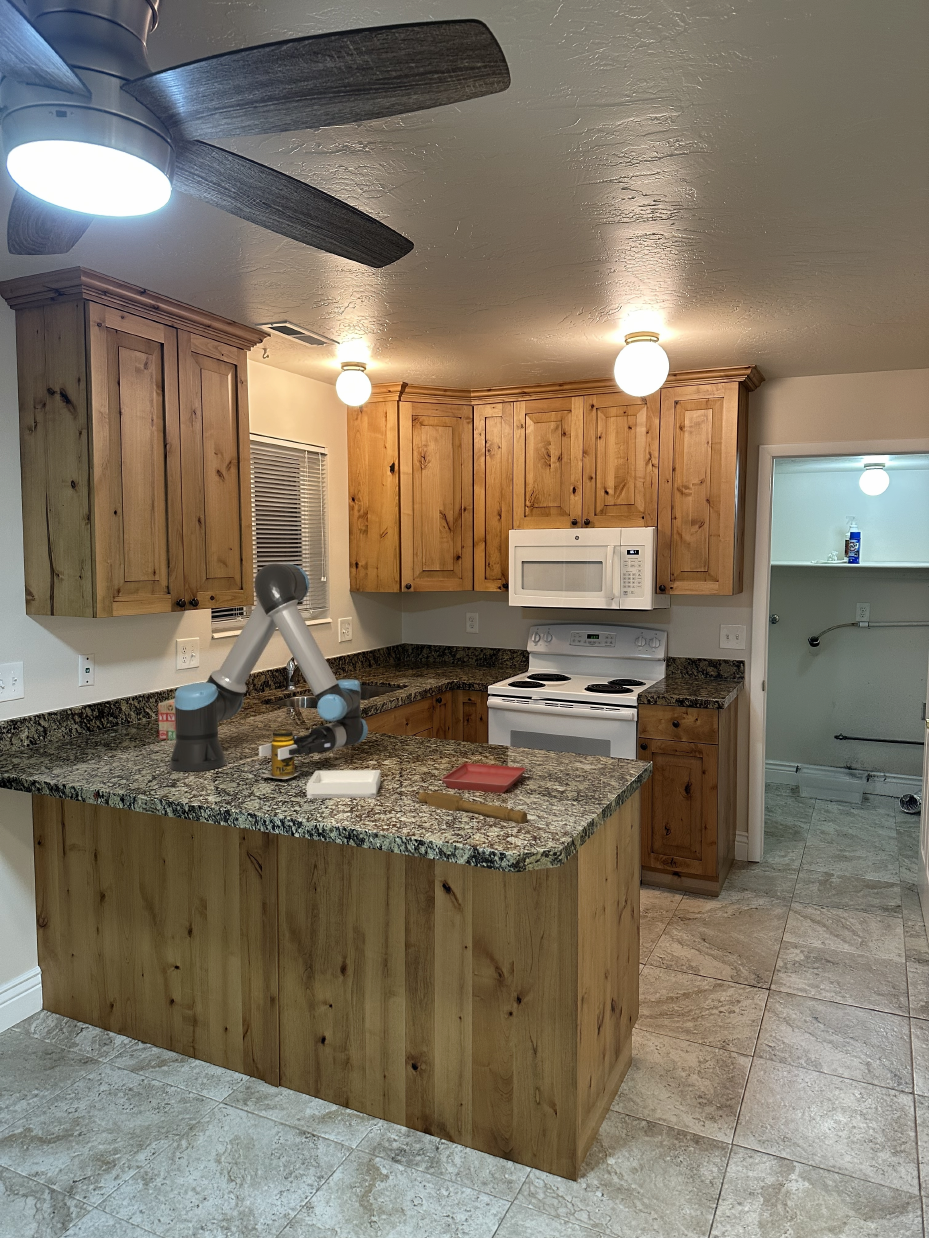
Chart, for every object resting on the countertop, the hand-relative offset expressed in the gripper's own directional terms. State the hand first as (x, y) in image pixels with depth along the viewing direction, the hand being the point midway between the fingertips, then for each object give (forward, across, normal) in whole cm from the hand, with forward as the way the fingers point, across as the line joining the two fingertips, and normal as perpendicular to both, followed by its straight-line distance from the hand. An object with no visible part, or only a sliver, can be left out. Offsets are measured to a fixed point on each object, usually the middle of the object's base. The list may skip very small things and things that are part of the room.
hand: (269, 752), depth 219 cm
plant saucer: (-28, -50, -8) cm, 57 cm away
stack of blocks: (-37, +77, -9) cm, 86 cm away
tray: (-5, -22, -8) cm, 24 cm away
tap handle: (-4, -59, -8) cm, 60 cm away
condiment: (-5, +1, -7) cm, 9 cm away
